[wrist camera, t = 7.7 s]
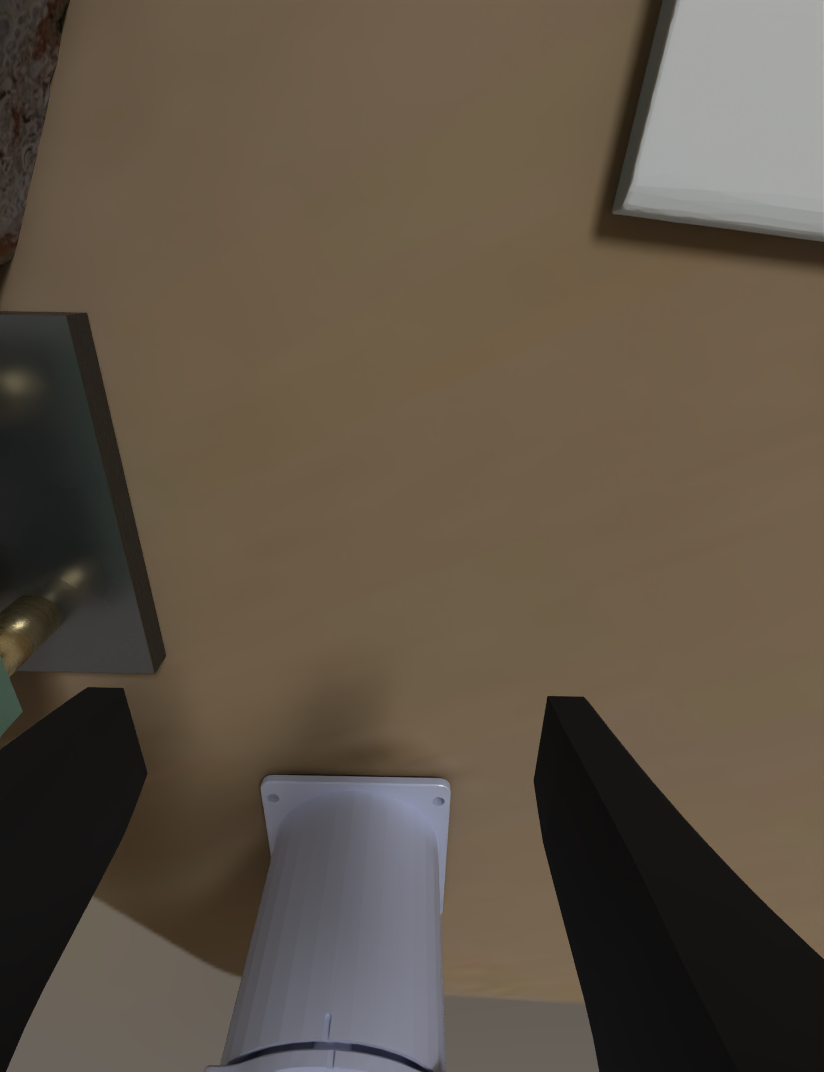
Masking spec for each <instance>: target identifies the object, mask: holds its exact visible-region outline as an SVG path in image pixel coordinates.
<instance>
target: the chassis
mask: <svg viewBox="0 0 824 1072" xmlns="http://www.w3.org/2000/svg"><path fill="white" fill-rule="evenodd" d="M0 656H1V658H2V661H3V663H4V666H5V668H6V671H7V673H8V676H9V678H10V677H11V676H12V675H13V674H14V673H15V672H16V671H40V672H93V673H145V674H155V672H156V671H157V669H158V668H159V666H160V664H161V663H162V661H163V660H164V658H165V657H166V654H165V649H164V645H163V641H162V636H161V632H160V628H159V623H158V619H157V615H156V610H155V606H154V602H153V597H152V593H151V589H150V584H149V580H148V576H147V571H146V567H145V563H144V558H143V554H142V550H141V545H140V541H139V537H138V532H137V528H136V524H135V519H134V515H133V511H132V506H131V502H130V498H129V493H128V489H127V485H126V481H125V476H124V472H123V468H122V463H121V459H120V455H119V450H118V446H117V442H116V437H115V433H114V429H113V424H112V420H111V416H110V411H109V407H108V403H107V398H106V394H105V390H104V385H103V381H102V377H101V372H100V368H99V364H98V359H97V355H96V351H95V346H94V342H93V338H92V333H91V329H90V325H89V320H88V316H87V313H69V312H11V311H0Z"/></svg>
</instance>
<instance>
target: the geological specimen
mask: <svg viewBox="0 0 824 1072" xmlns="http://www.w3.org/2000/svg"><path fill="white" fill-rule="evenodd" d="M69 2H70V0H0V265H1V264H3V263H6V262H8V261H10V260H11V259H12V258H13V256H14V252H15V249H16V246H17V242H18V238H19V233H20V229H21V224H22V220H23V215H24V211H25V206H26V200H27V195H28V191H29V187H30V182H31V178H32V174H33V170H34V165H35V158H36V156H37V152H38V147H39V141H40V137H41V133H42V129H43V125H44V120H45V116H46V111H47V106H48V101H49V95H50V80H51V77H52V75H53V72H54V70H55V68H56V65H57V60H58V54H59V47H60V41H61V34H62V25H61V21H60V18H62V17H63V14H64V10H65V7H66V6H67V4H68V3H69Z"/></svg>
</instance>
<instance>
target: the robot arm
mask: <svg viewBox="0 0 824 1072" xmlns="http://www.w3.org/2000/svg"><path fill="white" fill-rule="evenodd" d="M146 776H147V770H146V766H145V763H144V759H143V756H142V752H141V749H140V745H139V742H138V738H137V734H136V731H135V727H134V724H133V720H132V717H131V713H130V710H129V706H128V703H127V699H126V696H125V692H124V689H123V688H97V687H87V688H86V689H84V690H83V691H81V692H80V693H78V694H77V695H76V696H74V697H73V698H71V699H70V700H68V701H67V702H65V703H64V704H63V705H61V706H60V707H58V708H57V709H56V710H54V711H53V712H51V713H50V714H49V715H47V716H46V717H45V718H43V719H42V720H41V721H39V722H38V723H36V724H35V725H34V726H32V727H31V728H30V729H28V730H27V731H25V732H24V733H23V734H21V735H20V736H19V737H17V738H16V739H15V740H13V741H12V742H10V743H9V744H8V745H6V746H5V747H4V748H2V749H1V750H0V1072H6V1070H7V1068H8V1066H9V1063H10V1061H11V1058H12V1056H13V1054H14V1051H15V1049H16V1047H17V1045H18V1042H19V1040H20V1038H21V1035H22V1033H23V1030H24V1028H25V1026H26V1024H27V1022H28V1020H29V1018H30V1016H31V1014H32V1012H33V1010H34V1008H35V1006H36V1004H37V1001H38V999H39V997H40V995H41V993H42V991H43V989H44V987H45V985H46V983H47V981H48V980H49V978H50V976H51V974H52V972H53V970H54V968H55V966H56V964H57V962H58V961H59V959H60V957H61V955H62V953H63V951H64V949H65V947H66V945H67V943H68V942H69V940H70V938H71V936H72V934H73V932H74V930H75V928H76V926H77V924H78V923H79V921H80V918H81V917H82V915H83V913H84V911H85V909H86V907H87V905H88V904H89V902H90V900H91V898H92V896H93V894H94V892H95V890H96V888H97V886H98V885H99V883H100V881H101V879H102V877H103V875H104V873H105V871H106V869H107V867H108V865H109V863H110V861H111V859H112V857H113V855H114V854H115V852H116V850H117V848H118V846H119V844H120V842H121V840H122V838H123V836H124V834H125V831H126V829H127V826H128V824H129V821H130V819H131V816H132V814H133V811H134V809H135V806H136V803H137V801H138V798H139V795H140V792H141V790H142V787H143V784H144V781H145V779H146ZM534 786H535V793H536V800H537V807H538V814H539V820H540V826H541V832H542V839H543V844H544V848H545V852H546V856H547V860H548V864H549V868H550V871H551V875H552V879H553V883H554V887H555V891H556V895H557V898H558V902H559V906H560V910H561V913H562V917H563V921H564V925H565V929H566V932H567V936H568V940H569V944H570V947H571V951H572V955H573V959H574V963H575V966H576V970H577V974H578V978H579V981H580V985H581V989H582V993H583V996H584V1000H585V1005H586V1009H587V1013H588V1018H589V1022H590V1026H591V1031H592V1035H593V1039H594V1045H595V1051H596V1056H597V1061H598V1067H599V1072H824V959H823V958H822V957H821V956H820V955H819V954H818V953H817V952H815V951H814V950H813V949H812V948H811V947H810V946H809V945H808V944H807V943H806V942H805V941H804V940H803V939H802V938H801V937H800V936H798V935H797V934H796V933H795V932H794V931H793V930H792V929H791V928H790V927H789V926H788V925H787V924H786V923H785V922H784V921H783V920H782V919H781V918H780V917H779V916H777V915H776V914H775V913H774V912H773V911H772V910H771V909H770V908H769V907H768V906H767V905H766V904H765V903H764V902H763V901H762V900H761V899H760V898H759V897H758V896H757V895H756V894H755V893H754V892H753V891H752V890H751V889H750V888H749V887H748V886H747V885H746V884H745V883H744V882H743V881H742V880H741V879H740V878H739V876H738V875H737V874H736V873H735V872H734V871H733V870H732V869H731V868H730V867H729V866H728V865H727V864H726V863H725V862H724V861H723V860H722V859H721V858H720V856H719V855H718V854H717V853H716V852H715V851H714V850H713V849H712V848H711V847H710V846H709V845H708V844H707V843H706V842H705V841H704V839H703V838H702V837H701V836H700V835H699V834H698V833H697V832H696V831H695V830H694V828H693V827H692V826H691V825H690V824H689V823H688V822H687V821H686V820H685V818H684V817H683V816H682V815H681V814H680V813H679V812H678V810H677V809H676V808H675V807H674V806H673V805H672V803H671V802H670V801H669V800H668V799H667V798H666V797H665V795H664V794H663V793H662V792H661V791H660V790H659V788H658V787H657V786H656V785H655V784H654V783H653V782H652V780H651V779H650V778H649V777H648V776H647V774H646V773H645V772H644V771H643V770H642V768H641V767H640V766H639V765H638V764H637V762H636V761H635V760H634V759H633V757H632V756H631V755H630V754H629V752H628V751H627V750H626V749H625V747H624V746H623V745H622V744H621V743H620V741H619V740H618V739H617V737H616V736H615V735H614V734H613V732H612V731H611V730H610V729H609V727H608V726H607V725H606V724H605V722H604V721H603V720H602V718H601V717H600V716H599V715H598V713H597V712H596V711H595V710H594V708H593V707H592V706H591V704H590V703H589V702H588V701H587V700H586V699H585V698H584V697H566V696H548V697H547V703H546V709H545V715H544V721H543V727H542V733H541V739H540V745H539V751H538V757H537V764H536V770H535V776H534ZM260 790H261V796H262V803H263V809H264V815H265V822H266V828H267V835H268V841H269V847H270V854H271V862H270V866H269V870H268V874H267V878H266V882H265V886H264V890H263V894H262V898H261V902H260V906H259V910H258V914H257V918H256V922H255V926H254V930H253V934H252V938H251V943H250V947H249V951H248V955H247V959H246V963H245V967H244V971H243V975H242V979H241V983H240V987H239V991H238V995H237V999H236V1003H235V1007H234V1011H233V1015H232V1019H231V1023H230V1027H229V1031H228V1035H227V1039H226V1043H225V1047H224V1051H223V1056H222V1059H221V1064H220V1066H217V1065H210V1066H207V1067H206V1068H205V1071H204V1072H446V1062H445V1032H444V1005H443V1004H444V1003H443V974H442V945H441V914H442V912H443V897H444V882H445V868H446V853H447V838H448V824H449V809H450V794H451V791H450V783H449V782H448V781H447V780H445V779H442V778H411V777H360V776H309V775H268V776H266V777H265V778H264V779H263V780H262V784H261V788H260ZM437 797H439V798H437Z"/></svg>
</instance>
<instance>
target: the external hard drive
mask: <svg viewBox="0 0 824 1072" xmlns="http://www.w3.org/2000/svg"><path fill="white" fill-rule="evenodd" d="M612 213H613V214H617V215H625V216H633V217H641V218H648V219H655V220H662V221H670V222H676V223H685V224H693V225H701V226H709V227H716V228H724V229H731V230H739V231H746V232H754V233H761V234H769V235H776V236H783V237H791V238H798V239H805V240H814V241H821V242H824V0H663V1H662V5H661V10H660V14H659V18H658V22H657V26H656V31H655V35H654V39H653V43H652V47H651V52H650V56H649V60H648V64H647V68H646V72H645V76H644V81H643V85H642V89H641V93H640V97H639V101H638V105H637V110H636V114H635V118H634V122H633V126H632V130H631V134H630V138H629V143H628V147H627V151H626V155H625V159H624V163H623V167H622V171H621V175H620V180H619V184H618V188H617V192H616V196H615V200H614V204H613V208H612Z"/></svg>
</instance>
